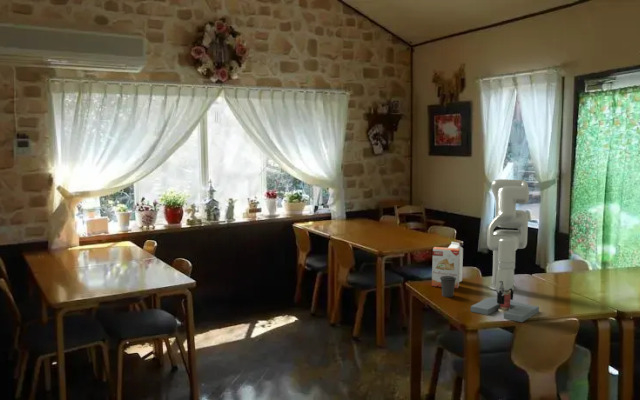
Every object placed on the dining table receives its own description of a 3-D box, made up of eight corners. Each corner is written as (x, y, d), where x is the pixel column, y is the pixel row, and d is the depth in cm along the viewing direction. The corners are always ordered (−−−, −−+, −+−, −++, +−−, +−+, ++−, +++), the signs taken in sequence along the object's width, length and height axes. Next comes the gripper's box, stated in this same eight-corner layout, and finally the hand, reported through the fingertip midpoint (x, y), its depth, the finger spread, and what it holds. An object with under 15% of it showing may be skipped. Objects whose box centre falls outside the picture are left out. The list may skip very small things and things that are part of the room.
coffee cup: (456, 298, 284) (456, 278, 283) (439, 297, 286) (439, 278, 285) (455, 294, 292) (456, 274, 291) (439, 293, 294) (439, 274, 293)
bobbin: (501, 308, 266) (502, 288, 265) (513, 311, 263) (514, 290, 261) (496, 311, 262) (496, 290, 261) (508, 314, 258) (509, 292, 257)
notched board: (489, 302, 277) (489, 297, 277) (538, 311, 262) (539, 306, 262) (470, 311, 262) (470, 306, 262) (521, 322, 247) (522, 316, 246)
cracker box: (431, 286, 307) (432, 248, 305) (433, 283, 313) (434, 246, 310) (458, 288, 302) (459, 250, 300) (459, 286, 308) (460, 248, 306)
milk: (454, 282, 315) (455, 243, 313) (446, 280, 320) (447, 242, 318) (462, 281, 319) (463, 242, 316) (454, 279, 324) (454, 240, 321)
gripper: (506, 260, 269) (504, 296, 271) (490, 266, 256) (489, 304, 258) (521, 263, 264) (520, 299, 266) (506, 269, 251) (505, 307, 253)
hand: (505, 301), depth 262 cm, fingers open, 9 cm apart
